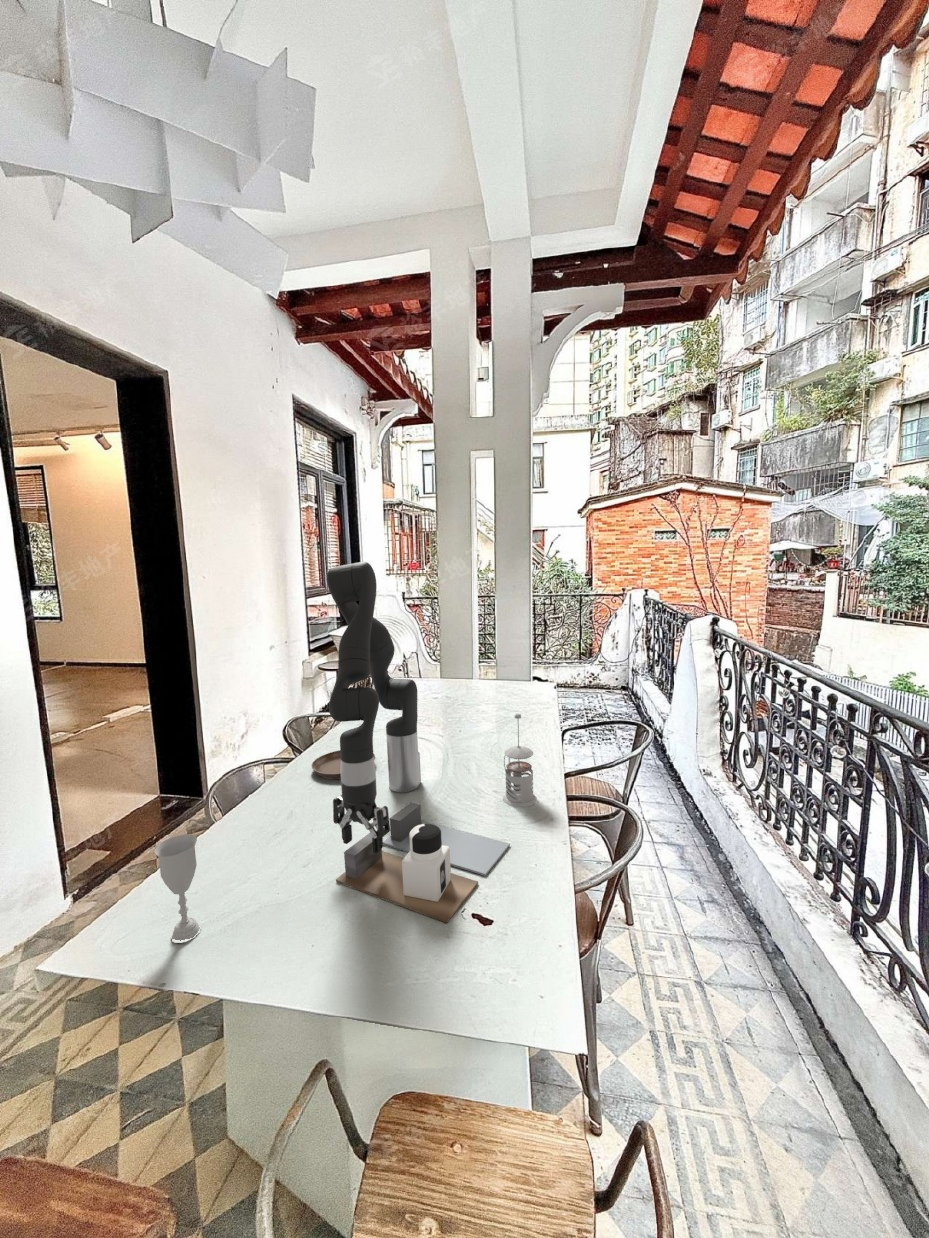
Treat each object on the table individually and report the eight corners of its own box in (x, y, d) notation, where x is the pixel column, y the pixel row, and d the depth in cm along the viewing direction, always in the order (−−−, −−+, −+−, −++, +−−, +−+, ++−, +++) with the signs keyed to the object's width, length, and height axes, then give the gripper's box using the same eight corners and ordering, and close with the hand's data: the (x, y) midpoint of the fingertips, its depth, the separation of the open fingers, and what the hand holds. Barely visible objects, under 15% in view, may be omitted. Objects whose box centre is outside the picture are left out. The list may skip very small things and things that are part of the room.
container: (451, 879, 110) (449, 822, 108) (438, 903, 102) (435, 842, 101) (418, 873, 112) (415, 817, 110) (403, 895, 105) (399, 836, 103)
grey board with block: (413, 819, 136) (412, 797, 135) (509, 845, 122) (509, 821, 122) (382, 844, 125) (381, 821, 124) (485, 875, 111) (484, 850, 110)
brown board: (374, 850, 122) (372, 826, 121) (478, 883, 109) (477, 857, 108) (335, 881, 111) (334, 855, 110) (446, 922, 97) (445, 893, 97)
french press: (514, 810, 139) (512, 721, 136) (492, 793, 150) (490, 710, 146) (544, 801, 144) (542, 715, 141) (521, 785, 154) (519, 704, 151)
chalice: (176, 921, 100) (166, 835, 98) (212, 918, 101) (203, 832, 99) (157, 950, 93) (146, 858, 91) (196, 946, 94) (186, 855, 91)
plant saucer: (298, 778, 165) (297, 768, 165) (337, 754, 184) (336, 745, 184) (352, 787, 157) (352, 776, 157) (387, 761, 176) (386, 752, 176)
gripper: (394, 776, 112) (398, 846, 114) (345, 765, 119) (349, 831, 121) (372, 790, 106) (376, 864, 108) (322, 777, 113) (326, 847, 115)
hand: (362, 846), depth 114 cm, fingers open, 8 cm apart
